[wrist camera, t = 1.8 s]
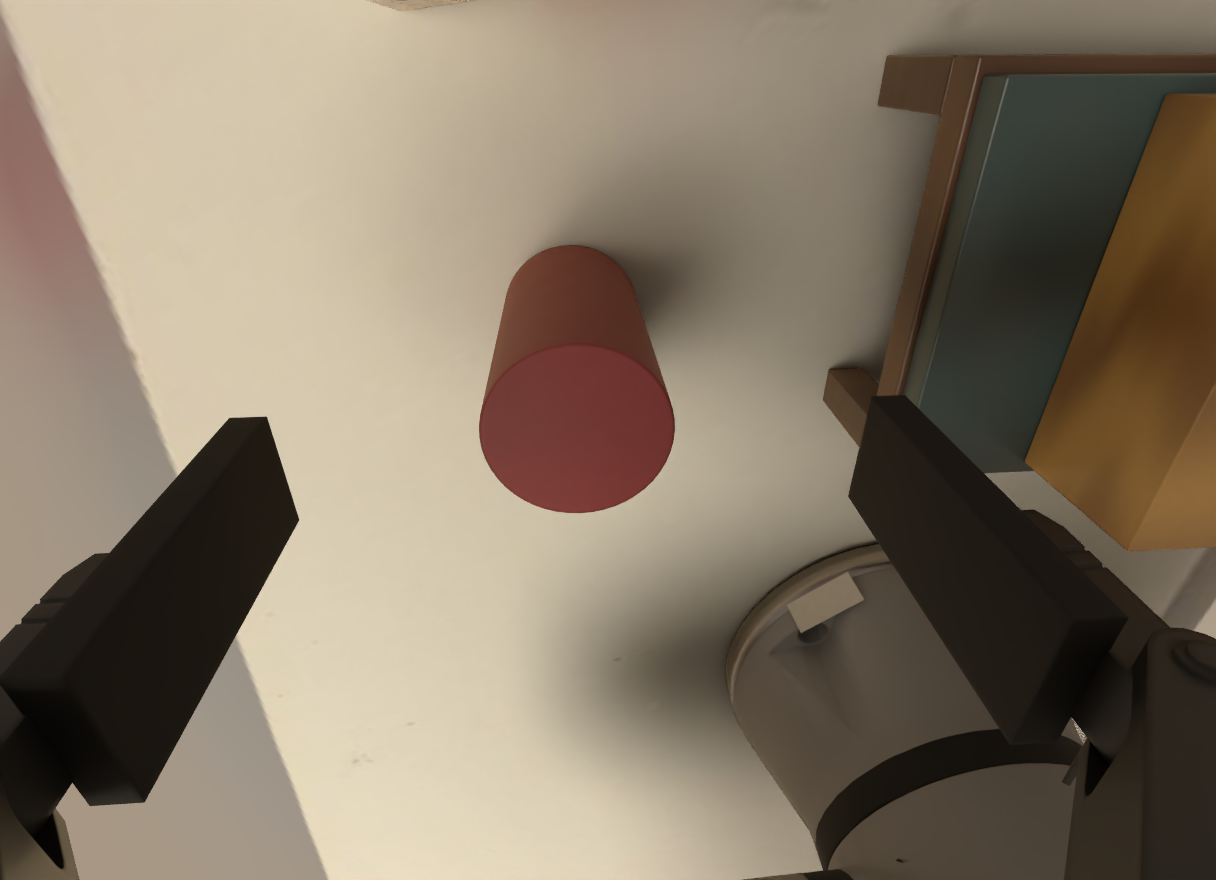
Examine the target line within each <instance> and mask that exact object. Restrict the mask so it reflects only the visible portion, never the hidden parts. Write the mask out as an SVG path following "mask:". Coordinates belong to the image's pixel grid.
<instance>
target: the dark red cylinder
mask: <svg viewBox="0 0 1216 880" xmlns="http://www.w3.org/2000/svg"><path fill="white" fill-rule="evenodd" d="M674 432H675V419H674V414H673V408H672V405H671V402H670V399H669V396H668V393H667V390H666V387H665V384H664V381H663V377H662V374H661V371H660V368H659V365H658V362H657V359H656V356H655V353H654V350H653V347H652V344H651V341H650V338H649V335H648V332H647V328H646V325H645V322H644V319H643V316H642V313H641V310H640V307H639V304H638V301H637V298H636V295H635V292H634V289H633V286H632V284H631V282H630V280H629V278H628V276H627V275H626V273H625V272H624V271H623V270H622V268H621V267H620V266H619V265H618V264H617V263H616V262H614V261H613V260H612V259H611V258H609V257H608V256H606V255H605V254H603V253H600V252H598V251H596V250H593V249H590V248H587V247H581V246H560V247H555V248H551V249H548V250H545V251H543V252H541V253H539V254H537V255H535V256H534V257H532V258H531V259H530V260H528V261H527V262H526V263H525V264H524V265H523V266H522V267H521V268H520V269H519V270H518V272H517V273H516V274H515V276H514V278H513V279H512V281H511V283H510V286H509V288H508V291H507V295H506V299H505V304H504V309H503V313H502V318H501V322H500V327H499V332H498V336H497V341H496V345H495V350H494V355H493V359H492V364H491V368H490V373H489V378H488V382H487V387H486V391H485V396H484V401H483V405H482V410H481V414H480V423H479V436H480V442H481V447H482V451H483V453H484V456H485V459H486V461H487V463H488V465H489V467H490V468H491V470H492V471H493V473H494V474H495V475H496V477H497V478H498V479H499V480H500V482H501V483H502V484H503V485H504V486H505V487H506V488H508V489H509V490H510V491H511V492H512V493H514V494H515V495H517V496H518V497H520V498H521V499H523V500H525V501H527V502H529V503H531V504H533V505H535V506H538V507H541V508H544V509H548V510H552V511H557V512H565V513H586V512H594V511H599V510H604V509H607V508H610V507H613V506H616V505H618V504H621V503H623V502H625V501H627V500H629V499H630V498H632V497H634V496H635V495H637V494H638V493H639V492H641V491H642V490H643V489H645V488H646V487H647V486H648V485H649V484H650V483H651V482H652V481H653V480H654V479H655V477H656V476H657V475H658V474H659V472H660V471H661V469H662V468H663V466H664V464H665V463H666V461H667V458H668V456H669V454H670V451H671V448H672V444H673V440H674Z"/></svg>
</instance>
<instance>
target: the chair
mask: <svg viewBox="0 0 1216 880" xmlns="http://www.w3.org/2000/svg"><path fill="white" fill-rule="evenodd" d="M878 106H882V107H888V108H895V109H901V110H908V111H915V112H921V113H928V114H934V115H941V119H940V123H939V128H938V132H937V136H936V141H935V145H934V149H933V154H932V158H931V162H930V166H929V171H928V175H927V179H926V184H925V188H924V192H923V197H922V201H921V205H920V210H919V214H918V218H917V223H916V227H915V231H914V236H913V240H912V244H911V248H910V253H909V257H908V261H907V266H906V270H905V274H904V279H903V283H902V287H901V292H900V296H899V300H898V305H897V309H896V313H895V317H894V322H893V326H892V330H891V335H890V339H889V343H888V348H887V352H886V356H885V361H884V365H883V369H882V374H881V378H880V382H879V385H878V384H877V383H876V382H875V381H874V380H873V379H872V378H871V377H870V376H869V375H868V374H867V373H866V372H865V371H864V370H863V369H831V370H829V371H828V376H827V382H826V387H825V392H824V398H823V401H824V402H825V403H826V405H827V406H828V407H829V409H830V410H831V411H832V413H833V414H834V415H835V416H836V418H837V419H838V420H839V422H840V423H841V424H842V425H843V427H844V428H845V429H846V431H847V432H848V433H849V434H850V436H851V437H852V438H853V440H854V441H855V442H856V444H857V445H858V446H859V447H860V443H861V439H862V435H863V430H864V426H865V422H866V418H867V413H868V409H869V405H870V400H871V396H889V395H905V396H906V397H907V398H908V399H909V400H910V401H911V402H912V403H913V404H915V405H916V406H917V407H918V408H919V409H920V410H921V411H922V412H923V413H924V414H925V415H926V416H927V417H928V418H929V419H930V420H931V421H932V422H933V423H934V424H935V425H936V426H937V427H938V428H939V429H940V430H941V431H942V432H943V433H944V434H945V435H946V436H947V437H948V438H949V439H950V440H951V441H952V442H953V443H954V444H955V445H956V446H957V447H958V448H959V449H960V450H961V451H962V452H963V453H964V454H965V455H966V456H967V457H968V458H969V459H970V460H971V461H972V462H973V463H974V464H975V465H976V466H977V467H978V468H979V469H980V470H981V471H982V472H983V473H997V472H1022V471H1035V472H1037V473H1038V474H1039V475H1040V476H1041V477H1042V478H1043V479H1045V480H1046V481H1047V482H1048V483H1049V484H1050V485H1052V486H1053V487H1054V488H1055V489H1056V490H1057V491H1058V492H1060V493H1061V494H1062V495H1063V496H1064V497H1065V498H1067V499H1068V500H1069V501H1070V502H1071V503H1072V504H1073V505H1075V506H1076V507H1077V508H1078V509H1079V510H1080V511H1082V512H1083V513H1084V514H1085V515H1086V516H1087V517H1088V518H1090V519H1091V520H1092V521H1093V522H1094V523H1095V524H1097V525H1098V526H1099V527H1100V528H1101V529H1102V530H1103V531H1105V532H1106V533H1107V534H1108V535H1109V536H1110V537H1112V538H1113V539H1114V540H1115V541H1116V542H1117V543H1118V544H1120V545H1121V546H1122V547H1123V548H1124V549H1125V550H1127V551H1147V550H1168V549H1188V548H1209V547H1216V54H1054V55H889V56H887V58H886V64H885V69H884V74H883V80H882V85H881V90H880V96H879V101H878Z"/></svg>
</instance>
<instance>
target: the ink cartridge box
mask: <svg viewBox="0 0 1216 880" xmlns="http://www.w3.org/2000/svg"><path fill="white" fill-rule="evenodd" d="M368 1H371V2H374V3H377V4H380V5H383V6H386V7H389V8H392V9H395V10H398V11H404V10H412V9H419V8H426V7H432V6H439V5H445V4H452V3H458V2H465V1H471V0H368Z"/></svg>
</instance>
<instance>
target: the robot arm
mask: <svg viewBox="0 0 1216 880" xmlns="http://www.w3.org/2000/svg"><path fill="white" fill-rule="evenodd" d="M848 497H849V498H850V500H851V502H852V503H853V505H854V506H855V508H856V509H857V511H858V512H859V514H860V515H861V517H862V518H863V520H864V522H865V523H866V525H867V526H868V528H869V529H870V531H871V532H872V534H873V535H874V537H875V538H876V540H877V541H878V543H879V544H876V545H871V546H866V547H862V548H858V549H854V550H851V551H848V552H844V553H841V554H838V555H836V556H833V557H830V558H828V559H825V560H823V561H821V562H819V563H817V564H814V565H812V566H810V567H808V568H807V569H805V570H803V571H801V572H799V573H798V574H796V575H794V576H793V577H791V578H790V579H788V580H787V581H785V582H784V583H782V584H781V585H780V586H778V587H777V588H776V589H774V590H773V591H772V592H771V593H770V594H768V595H767V596H766V597H765V598H764V599H763V600H762V601H761V602H760V603H759V604H758V605H757V606H756V607H755V608H754V609H753V610H752V611H751V613H750V614H749V615H748V617H747V618H746V619H745V620H744V622H743V623H742V625H741V626H740V628H739V630H738V631H737V633H736V635H735V637H734V639H733V641H732V644H731V647H730V650H729V653H728V657H727V662H726V682H727V686H728V691H729V694H730V698H731V702H732V706H733V709H734V713H735V716H736V719H737V721H738V724H739V725H740V727H741V729H742V731H743V733H744V735H745V737H746V738H747V740H748V741H749V743H750V744H751V746H752V747H753V749H754V750H755V752H756V753H757V755H758V756H759V758H760V759H761V761H762V762H763V764H764V765H765V767H766V768H767V769H768V771H769V772H770V774H771V775H772V777H773V778H774V780H775V781H776V783H777V784H778V786H779V787H780V789H781V790H782V791H783V793H784V794H785V796H786V797H787V799H788V800H789V802H790V803H791V805H792V806H793V808H794V809H795V810H796V812H797V813H798V815H799V816H800V818H801V819H802V821H803V822H804V824H805V825H806V827H807V828H808V830H809V831H810V833H811V836H812V838H813V841H814V844H815V847H816V850H817V852H818V855H819V858H820V862H821V865H822V868H823V871H817V872H809V873H796V874H788V875H779V876H770V877H761V878H753V879H744V880H1216V639H1215V638H1213V637H1210V636H1208V635H1206V634H1203V633H1199V632H1195V631H1192V630H1188V629H1184V628H1170V627H1169V626H1168V625H1167V624H1166V623H1165V622H1164V621H1163V620H1162V619H1161V618H1160V617H1159V616H1158V615H1156V614H1155V613H1154V612H1153V611H1152V610H1151V609H1150V608H1149V607H1148V606H1147V605H1146V604H1145V603H1144V602H1143V601H1142V600H1141V599H1139V598H1138V597H1137V596H1136V595H1135V594H1134V593H1133V592H1132V591H1131V590H1130V589H1129V588H1128V587H1127V586H1126V585H1125V584H1124V583H1123V582H1121V581H1120V580H1119V579H1118V578H1117V577H1116V576H1115V575H1114V574H1113V573H1112V572H1111V571H1110V570H1109V569H1108V568H1103V567H1102V563H1101V562H1100V561H1099V560H1098V559H1097V558H1096V557H1095V556H1094V555H1093V554H1092V553H1091V552H1090V551H1085V549H1084V548H1085V547H1084V546H1083V545H1082V544H1081V543H1080V542H1079V541H1078V540H1077V539H1076V538H1075V537H1074V536H1073V535H1072V534H1071V533H1069V532H1068V531H1067V530H1066V529H1065V528H1064V527H1063V526H1061V525H1060V524H1058V523H1056V522H1054V521H1053V520H1051V519H1049V518H1048V517H1046V516H1044V515H1042V514H1041V513H1039V512H1037V511H1036V510H1020V509H1019V508H1018V507H1017V506H1016V505H1015V504H1014V503H1013V502H1012V501H1011V500H1010V499H1009V498H1008V497H1007V496H1006V495H1005V494H1004V493H1003V492H1002V491H1001V490H1000V489H999V488H998V487H997V486H996V485H995V484H994V483H993V482H992V481H991V480H990V479H989V478H988V477H987V476H986V475H985V474H984V473H983V472H982V471H981V470H980V469H979V468H978V467H977V466H976V465H975V464H974V463H973V462H972V461H971V460H970V459H969V458H968V457H967V456H966V455H965V454H964V453H963V452H962V451H961V450H960V449H959V448H958V447H957V446H956V445H955V444H954V443H953V442H952V441H951V440H950V439H949V438H948V437H947V436H946V435H945V434H944V433H943V432H942V431H941V430H940V429H939V428H938V427H937V426H936V425H935V424H934V423H933V422H932V421H931V420H930V419H929V418H928V417H927V416H926V415H925V414H924V413H923V412H922V411H921V410H920V409H919V408H918V407H917V406H916V405H915V404H913V403H912V402H911V401H910V400H909V399H908V398H907V397H906V396H905V395H889V396H871V400H870V405H869V409H868V413H867V418H866V422H865V426H864V430H863V435H862V439H861V443H860V448H859V452H858V456H857V460H856V465H855V469H854V473H853V478H852V482H851V486H850V491H849V495H848ZM298 521H299V518H298V514H297V511H296V508H295V505H294V502H293V499H292V495H291V492H290V489H289V486H288V483H287V479H286V476H285V473H284V470H283V467H282V464H281V460H280V457H279V454H278V451H277V448H276V445H275V441H274V438H273V435H272V432H271V429H270V426H269V422H268V419H267V417H245V418H229V419H228V420H227V421H226V422H225V424H224V425H223V426H222V427H221V428H220V429H219V430H218V431H217V433H216V434H215V435H214V436H213V437H212V438H211V439H210V440H209V442H208V443H207V444H206V445H205V446H204V447H203V448H202V449H201V451H200V452H199V453H198V454H197V455H196V456H195V457H194V458H193V460H192V461H191V462H190V463H189V464H188V465H187V466H186V467H185V469H184V470H183V471H182V472H181V473H180V474H179V475H178V476H177V478H176V479H175V480H174V481H173V482H172V483H171V484H170V485H169V487H168V488H167V489H166V490H165V491H164V492H163V493H162V494H161V496H160V497H159V498H158V499H157V500H156V501H155V502H154V503H153V505H152V506H151V507H150V508H149V509H148V510H147V511H146V512H145V514H144V515H143V516H142V517H141V518H140V519H139V520H138V522H137V523H136V524H135V525H134V526H133V527H132V528H131V529H130V530H129V532H128V533H127V534H126V535H125V536H124V537H123V539H121V541H120V542H119V543H118V544H117V545H116V546H115V547H114V548H113V550H112V551H111V552H110V553H102V554H94V555H92V556H91V557H89V558H88V559H86V560H85V561H83V562H82V563H81V564H79V565H78V566H76V567H74V568H73V569H71V570H70V571H68V572H67V573H65V574H64V575H62V577H61V578H60V579H59V580H58V581H57V582H56V583H55V584H54V585H53V586H52V587H51V588H50V589H49V590H48V591H47V593H46V594H45V595H44V596H43V597H42V598H41V599H40V604H35V605H34V606H33V607H32V609H31V610H30V611H29V612H28V613H27V614H26V615H25V616H24V617H23V618H22V623H21V624H18V625H15V627H14V628H13V629H12V630H11V631H10V632H9V633H8V634H7V635H6V636H5V637H4V638H3V639H2V640H1V642H0V880H79V876H78V872H77V868H76V864H75V861H74V856H73V852H72V848H71V844H70V840H69V836H68V831H67V827H66V823H65V821H64V819H63V818H62V816H61V815H60V814H59V812H58V811H57V810H56V806H57V805H58V803H59V801H60V800H61V799H62V797H63V796H64V794H65V793H66V791H67V790H68V788H69V787H70V785H71V784H72V783H73V784H74V785H75V787H76V788H77V789H78V791H79V792H80V793H81V795H82V796H83V797H84V799H85V800H86V802H87V803H88V804H89V805H90V806H97V805H111V804H126V803H127V804H128V803H143V802H145V801H146V799H147V797H148V795H149V793H150V791H151V789H152V788H153V786H154V784H155V782H156V780H157V779H158V777H159V775H160V773H161V771H162V770H163V768H164V766H165V764H166V762H167V760H168V759H169V757H170V755H171V753H172V751H173V749H174V748H175V746H176V744H177V742H178V740H179V739H180V737H181V735H182V733H183V731H184V729H185V727H186V726H187V724H188V722H189V720H190V718H191V717H192V715H193V713H194V711H195V709H196V707H197V705H198V704H199V702H200V700H201V698H202V696H203V695H204V693H205V691H206V689H207V687H208V686H209V684H210V682H211V680H212V678H213V676H214V674H215V673H216V671H217V669H218V667H219V666H220V664H221V662H222V660H223V658H224V656H225V655H226V653H227V651H228V649H229V647H230V645H231V644H232V642H233V640H234V638H235V636H236V634H237V633H238V631H239V629H240V627H241V625H242V624H243V622H244V620H245V618H246V616H247V614H248V613H249V611H250V609H251V607H252V605H253V603H254V602H255V600H256V598H257V596H258V594H259V593H260V591H261V589H262V587H263V585H264V583H265V582H266V580H267V578H268V576H269V574H270V572H271V571H272V569H273V567H274V565H275V563H276V562H277V560H278V558H279V556H280V554H281V552H282V551H283V549H284V547H285V545H286V543H287V541H288V540H289V538H290V536H291V534H292V532H293V530H294V529H295V527H296V525H297V523H298ZM1072 718H1073V719H1074V721H1075V722H1076V723H1077V725H1078V726H1079V727H1080V728H1081V730H1082V731H1083V732H1084V734H1085V735H1086V736H1087V740H1086V741H1085V743H1084V744H1083V742H1082V741H1081V739H1080V737H1079V735H1078V733H1077V731H1076V728H1075V726H1074V723H1073V720H1072Z"/></svg>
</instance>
